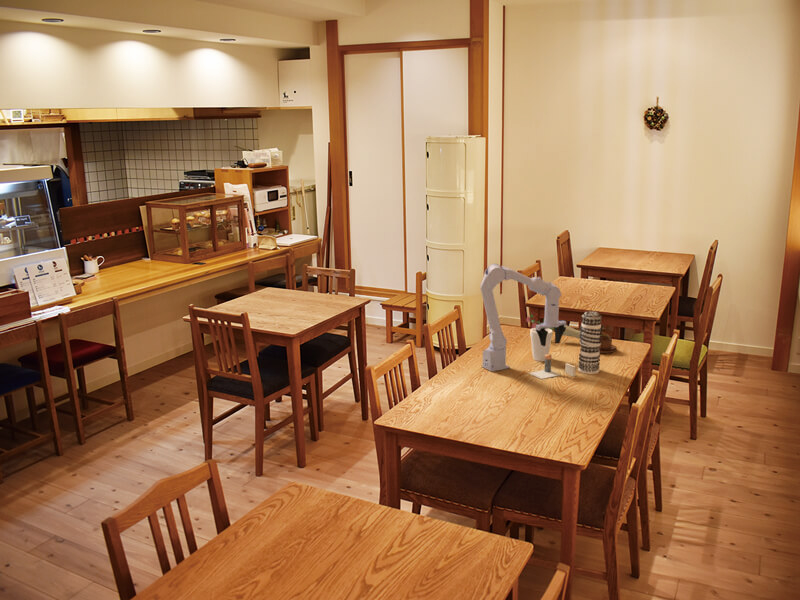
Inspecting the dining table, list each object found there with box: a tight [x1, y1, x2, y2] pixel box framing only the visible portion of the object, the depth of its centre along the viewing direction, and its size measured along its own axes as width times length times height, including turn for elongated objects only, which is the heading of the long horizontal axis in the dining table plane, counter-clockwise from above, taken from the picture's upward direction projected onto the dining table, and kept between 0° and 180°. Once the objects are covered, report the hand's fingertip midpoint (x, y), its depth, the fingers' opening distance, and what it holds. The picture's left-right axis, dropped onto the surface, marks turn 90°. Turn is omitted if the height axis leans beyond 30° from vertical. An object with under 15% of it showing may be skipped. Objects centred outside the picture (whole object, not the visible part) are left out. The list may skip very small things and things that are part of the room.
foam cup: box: [529, 327, 553, 362], centre depth 312 cm, size 10×9×13 cm
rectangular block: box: [564, 362, 576, 377], centre depth 293 cm, size 5×1×4 cm, turn 27°
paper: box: [528, 369, 561, 380], centre depth 294 cm, size 10×8×1 cm
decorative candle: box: [578, 310, 603, 375], centre depth 295 cm, size 9×9×25 cm
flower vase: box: [526, 313, 582, 340], centre depth 337 cm, size 12×12×35 cm
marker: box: [543, 354, 553, 372], centre depth 296 cm, size 3×3×7 cm
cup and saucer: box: [599, 335, 618, 354], centre depth 323 cm, size 12×12×6 cm
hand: (550, 344), depth 301 cm, fingers open, 7 cm apart
